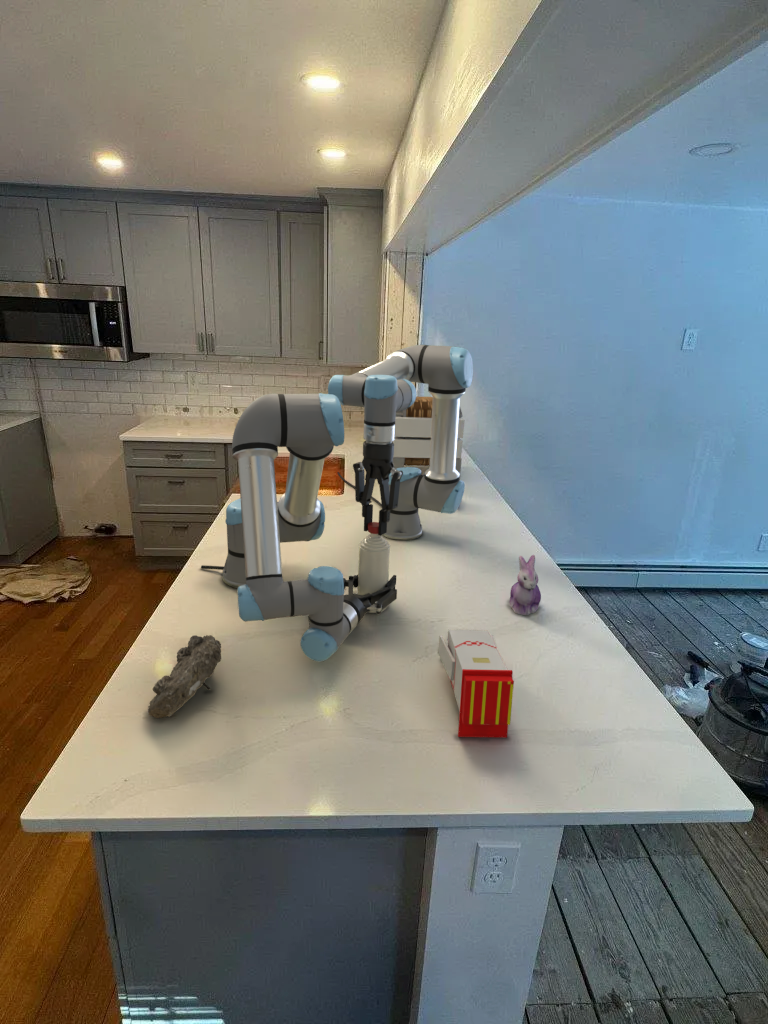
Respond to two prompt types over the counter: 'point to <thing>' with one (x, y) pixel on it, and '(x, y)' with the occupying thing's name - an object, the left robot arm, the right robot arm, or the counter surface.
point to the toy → (478, 682)
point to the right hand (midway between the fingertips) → (375, 531)
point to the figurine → (525, 588)
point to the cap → (373, 527)
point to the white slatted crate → (419, 435)
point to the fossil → (186, 675)
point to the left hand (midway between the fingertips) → (379, 576)
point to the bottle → (373, 564)
